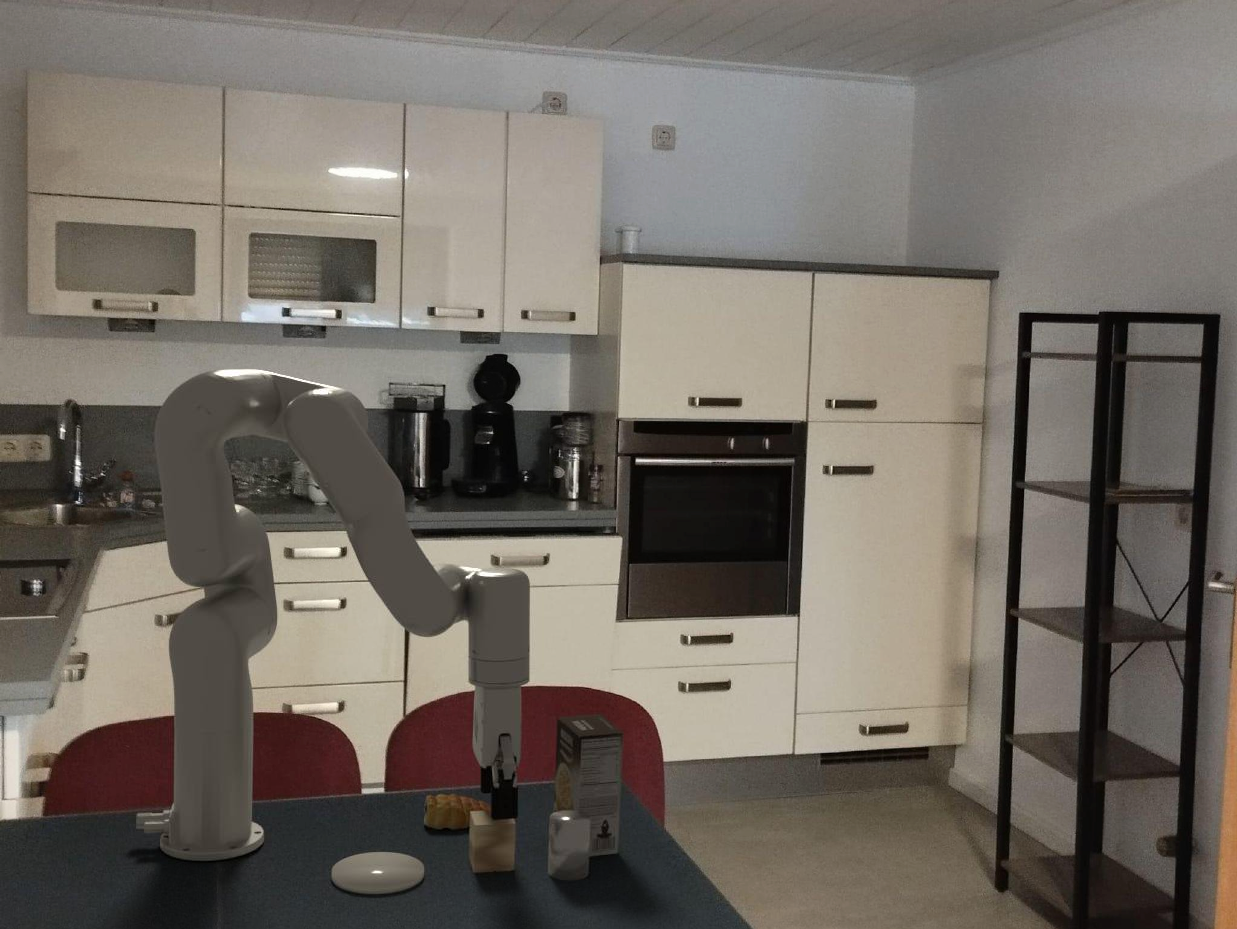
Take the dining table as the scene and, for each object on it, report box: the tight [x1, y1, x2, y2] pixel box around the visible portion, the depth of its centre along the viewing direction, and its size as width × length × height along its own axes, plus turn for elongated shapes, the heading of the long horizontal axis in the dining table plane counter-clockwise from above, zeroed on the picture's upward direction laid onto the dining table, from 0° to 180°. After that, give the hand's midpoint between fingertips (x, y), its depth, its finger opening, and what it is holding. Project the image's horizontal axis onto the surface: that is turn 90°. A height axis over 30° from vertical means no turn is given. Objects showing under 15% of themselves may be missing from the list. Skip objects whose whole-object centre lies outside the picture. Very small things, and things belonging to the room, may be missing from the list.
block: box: [468, 810, 517, 874], centre depth 167 cm, size 5×5×6 cm
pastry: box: [423, 793, 491, 831], centre depth 181 cm, size 9×7×4 cm
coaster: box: [331, 851, 425, 895], centre depth 162 cm, size 11×11×1 cm
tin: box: [547, 810, 590, 882], centre depth 165 cm, size 5×5×7 cm
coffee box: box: [553, 713, 624, 858], centre depth 174 cm, size 9×6×16 cm
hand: (498, 804), depth 166 cm, fingers open, 9 cm apart
